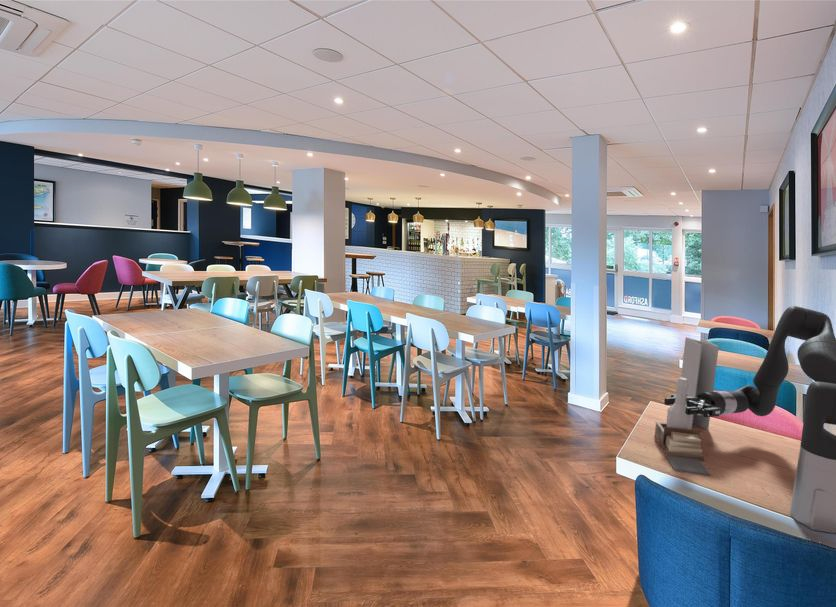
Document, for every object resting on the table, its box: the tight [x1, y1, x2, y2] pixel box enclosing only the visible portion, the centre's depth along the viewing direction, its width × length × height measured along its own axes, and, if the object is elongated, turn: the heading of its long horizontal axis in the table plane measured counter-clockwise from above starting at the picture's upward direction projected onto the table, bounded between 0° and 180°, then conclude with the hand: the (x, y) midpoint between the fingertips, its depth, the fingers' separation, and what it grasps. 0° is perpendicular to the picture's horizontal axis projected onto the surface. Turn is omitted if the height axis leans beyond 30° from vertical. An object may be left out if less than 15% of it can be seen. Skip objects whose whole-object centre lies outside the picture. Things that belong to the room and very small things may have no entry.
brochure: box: [680, 336, 720, 431], centre depth 164 cm, size 14×6×30 cm, turn 168°
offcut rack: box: [654, 421, 706, 462], centre depth 143 cm, size 15×10×7 cm, turn 166°
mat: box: [665, 454, 711, 477], centre depth 132 cm, size 9×9×1 cm
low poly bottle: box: [666, 377, 691, 429], centre depth 145 cm, size 6×6×22 cm
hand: (675, 406), depth 144 cm, fingers open, 8 cm apart
